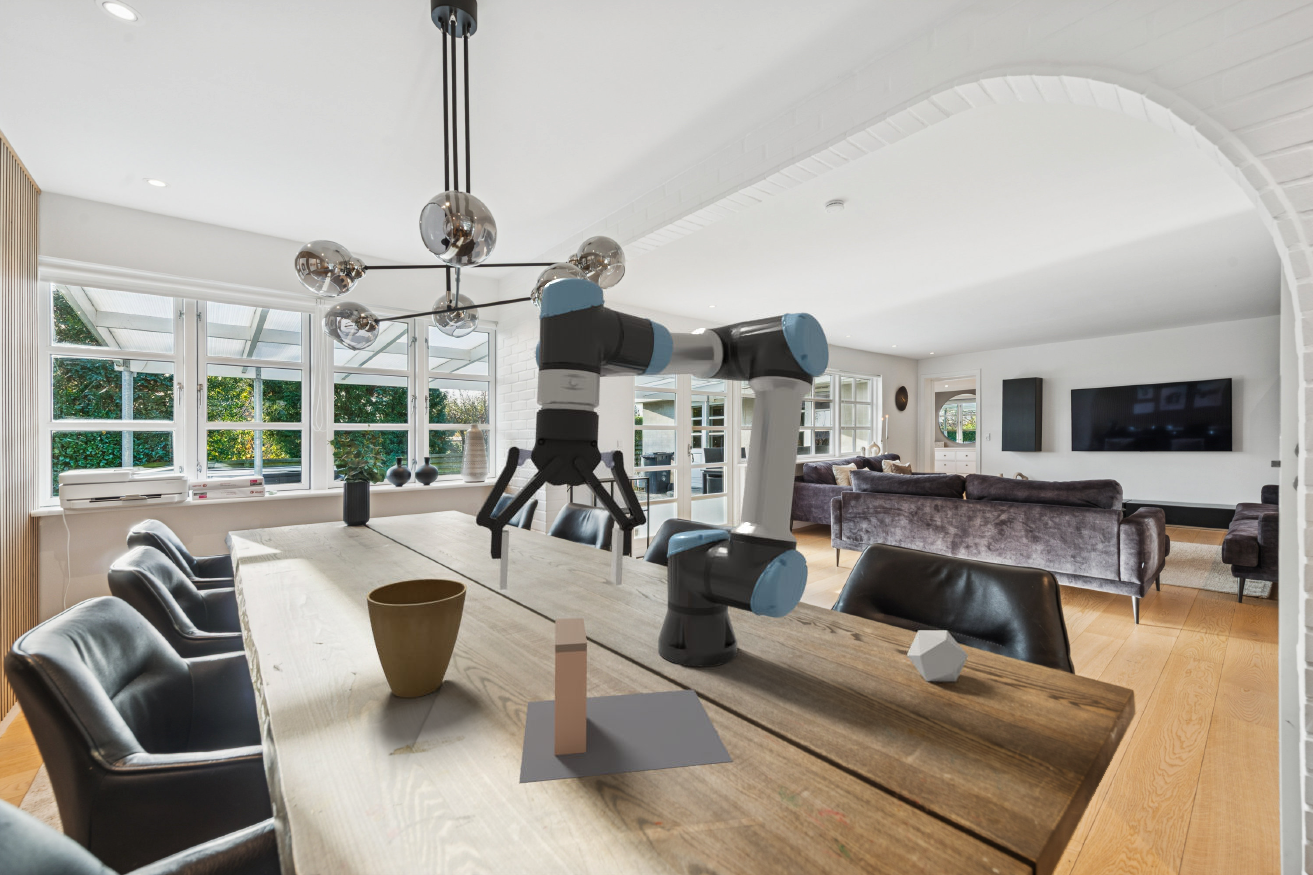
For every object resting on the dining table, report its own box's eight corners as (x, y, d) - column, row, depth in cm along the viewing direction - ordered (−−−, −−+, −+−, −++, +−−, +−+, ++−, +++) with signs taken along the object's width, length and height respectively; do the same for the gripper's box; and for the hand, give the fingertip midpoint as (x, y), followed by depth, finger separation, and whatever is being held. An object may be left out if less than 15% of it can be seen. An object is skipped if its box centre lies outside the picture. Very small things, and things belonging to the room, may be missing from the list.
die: (963, 697, 89) (983, 643, 92) (913, 667, 91) (935, 615, 94) (938, 694, 97) (957, 644, 100) (892, 666, 98) (913, 617, 101)
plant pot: (343, 700, 85) (344, 597, 85) (415, 663, 99) (416, 575, 99) (419, 717, 80) (420, 607, 80) (484, 676, 94) (485, 583, 94)
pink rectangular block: (554, 715, 80) (555, 619, 80) (582, 713, 80) (583, 617, 80) (554, 755, 70) (555, 644, 70) (586, 752, 71) (586, 642, 71)
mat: (528, 705, 84) (528, 701, 84) (693, 693, 89) (693, 689, 89) (519, 787, 64) (519, 782, 64) (732, 765, 69) (732, 761, 69)
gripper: (458, 400, 60) (449, 596, 59) (674, 413, 67) (668, 587, 67) (460, 405, 67) (452, 580, 66) (656, 416, 75) (650, 574, 74)
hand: (561, 584), depth 67 cm, fingers open, 13 cm apart
